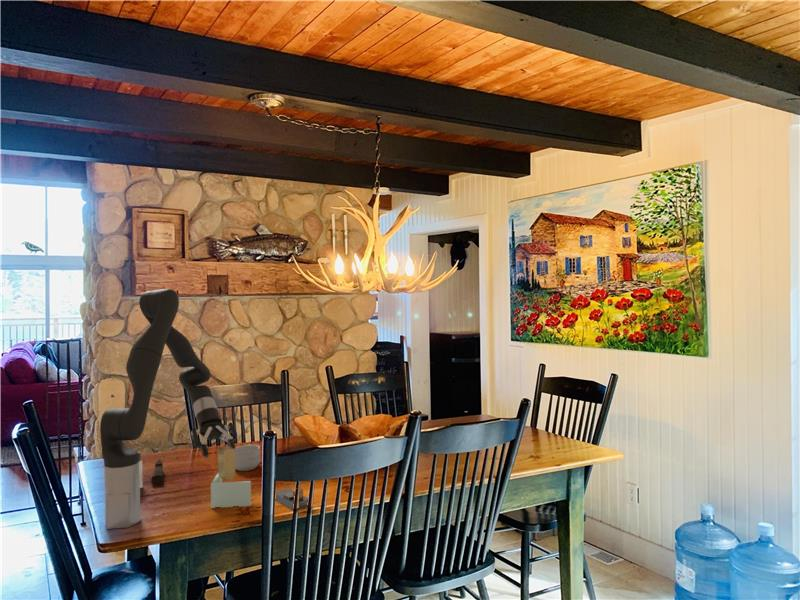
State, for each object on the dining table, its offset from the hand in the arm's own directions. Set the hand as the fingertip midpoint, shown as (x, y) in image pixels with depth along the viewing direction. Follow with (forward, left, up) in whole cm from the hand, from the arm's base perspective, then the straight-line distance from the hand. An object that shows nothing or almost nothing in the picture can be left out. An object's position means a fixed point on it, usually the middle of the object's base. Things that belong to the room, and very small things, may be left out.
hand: (220, 453), depth 190 cm
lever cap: (-5, -3, -6) cm, 8 cm away
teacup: (+31, -5, -14) cm, 34 cm away
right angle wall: (-5, -5, -14) cm, 16 cm away
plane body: (-11, -23, -14) cm, 29 cm away
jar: (+14, +33, -14) cm, 38 cm away
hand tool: (+24, +26, -14) cm, 38 cm away
